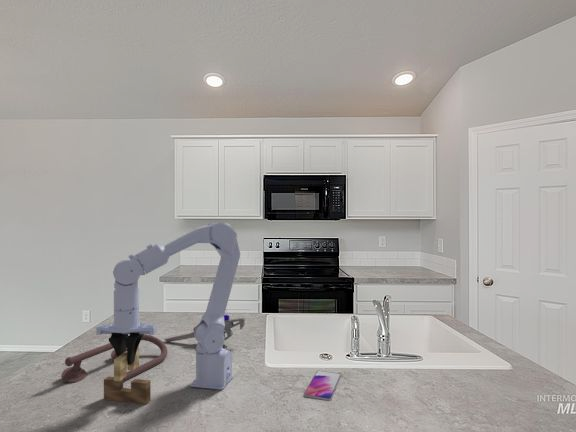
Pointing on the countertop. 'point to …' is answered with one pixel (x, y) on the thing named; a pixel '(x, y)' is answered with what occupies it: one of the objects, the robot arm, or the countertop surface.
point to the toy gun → (227, 329)
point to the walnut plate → (127, 391)
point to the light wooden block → (124, 365)
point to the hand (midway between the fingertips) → (126, 363)
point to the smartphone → (323, 385)
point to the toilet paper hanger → (79, 374)
